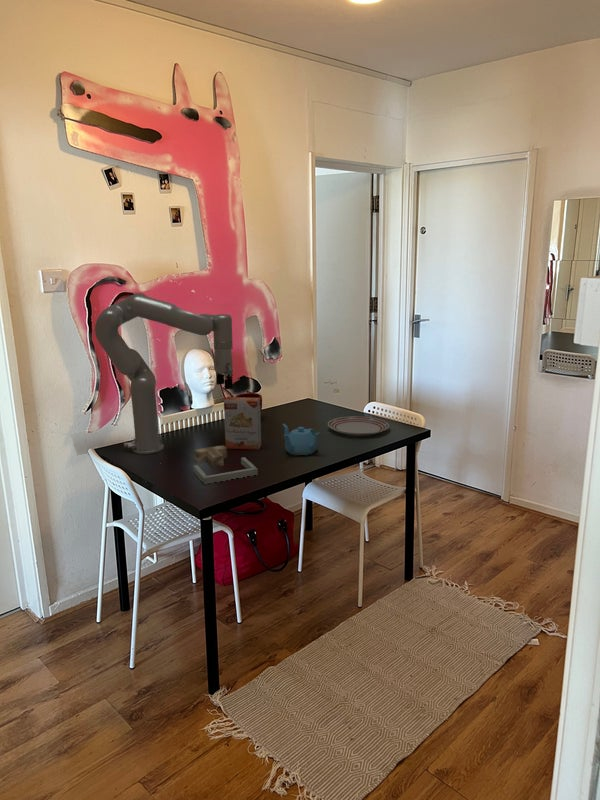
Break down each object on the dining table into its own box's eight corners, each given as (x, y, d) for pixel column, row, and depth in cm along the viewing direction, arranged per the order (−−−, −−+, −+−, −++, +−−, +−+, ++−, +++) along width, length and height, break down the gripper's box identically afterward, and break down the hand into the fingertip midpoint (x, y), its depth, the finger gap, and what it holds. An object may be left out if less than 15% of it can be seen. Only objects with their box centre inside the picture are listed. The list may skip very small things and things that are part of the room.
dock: (204, 484, 211) (203, 478, 211) (193, 472, 223) (193, 465, 223) (257, 475, 219) (257, 468, 219) (244, 463, 231) (244, 457, 231)
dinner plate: (359, 418, 289) (359, 411, 289) (402, 431, 268) (402, 424, 267) (315, 429, 273) (315, 422, 272) (356, 444, 252) (356, 436, 251)
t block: (203, 469, 226) (202, 459, 225) (194, 459, 237) (194, 449, 236) (233, 464, 231) (233, 454, 230) (224, 454, 242) (223, 445, 241)
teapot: (318, 445, 251) (317, 421, 249) (321, 457, 237) (321, 432, 234) (282, 446, 250) (282, 422, 248) (283, 458, 236) (283, 433, 233)
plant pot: (236, 416, 295) (235, 392, 292) (263, 416, 295) (262, 392, 292) (233, 424, 283) (232, 399, 280) (261, 423, 282) (261, 399, 279)
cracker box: (225, 449, 248) (222, 400, 243) (229, 444, 254) (226, 396, 248) (258, 450, 246) (257, 400, 241) (261, 445, 252) (260, 397, 246)
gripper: (207, 343, 250) (209, 383, 255) (221, 349, 235) (223, 391, 240) (224, 341, 254) (225, 381, 258) (239, 347, 239) (240, 389, 243)
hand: (224, 386), depth 249 cm, fingers open, 9 cm apart
